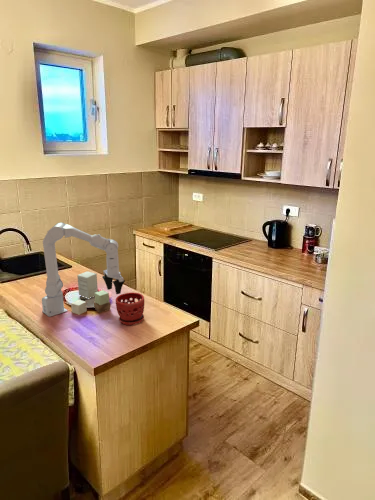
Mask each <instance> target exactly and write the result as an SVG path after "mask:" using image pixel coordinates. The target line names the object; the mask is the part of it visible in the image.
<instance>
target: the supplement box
mask: <svg viewBox="0 0 375 500" xmlns="http://www.w3.org/2000/svg"><path fill="white" fill-rule="evenodd" d="M97 275H98V274H97V273H96V272H95V273H94V272H93V271H84V272H82V273H79V274H77V275H76V276H77V285H78V289H77V290H78V296H79V295H81V296H84V297H87V298H90V297H93V296H95V294H94V293H96V292H99V289H98V276H97ZM93 298H94V297H93Z"/></svg>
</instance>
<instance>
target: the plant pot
mask: <svg viewBox="0 0 375 500" xmlns="http://www.w3.org/2000/svg"><path fill="white" fill-rule="evenodd" d="M136 299H137V301H136ZM115 306H116V311H117V314H118V316H119V317H118V319H119V322H120V323H121V324H122V325H126V326H135V325H137V324H138V325H139V324H141V323H142V321H144V319H145V315H144V312H145V296H144V295H143V294H142V293H139V292H126V293H122V294H121V293H120V294H118V296H117V297H116V298H115Z"/></svg>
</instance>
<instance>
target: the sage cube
mask: <svg viewBox="0 0 375 500" xmlns="http://www.w3.org/2000/svg"><path fill="white" fill-rule="evenodd" d="M94 294H95V297H94V301H95V302H96V303H97V304H99V305H103V304H106V303H109V302H110V293H109V292H108V291H106V290H104V289H103V290H98V292H96V293H94Z"/></svg>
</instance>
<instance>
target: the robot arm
mask: <svg viewBox="0 0 375 500" xmlns="http://www.w3.org/2000/svg"><path fill="white" fill-rule="evenodd" d="M63 237H64V238H65V239H66V238H70V237H74V238H77V239H79V240H82V241H85V242H88V243H89V244H90V246H91V247H94V248H97V249H99V250H102V251H104V252H105V253H106V254H105V255H106V259H105V260H106V269H105V270H102V271H103V275H102V279H103V280H104V281H103V282H104V283H105V285H106V289H107V290H108V291H109V290H113V289H112V288H113V287H114V290H115V294H116V295H121V292H122V288H123V285H124V284H125V279H124V277H123V276H122V275H121V274H122V273H121V272H120V265H119V263H120V262H119V261H120V260H119V251H118V250H119V243H118V241H117V240H115V239H114V238H113V239H111V238H106V237H104V236H102V235H101V234H100V233H98V234H96V233H95V234H90V233H88V232H85V231H83V230H81V229H79V228H76V227H74V226H72V225H70V224H67V223H65V222H57V223H56V224H54V226H52V227H51V228H50V229H48V230H47V231H46V234H45V236H44V238H43V240H42V247H43V255H44V256H43V257H44V261H45V268H46V281H45V286H46V287H45V289H44V293H45V296H43V297H42V298H41V306H42V313H43V314H45V315H46V316H47V317H53V316H56V315H57V316H58V315H59V314H62V313H65V312H68V309H66V308H65V303H64V295H63V293H64V292H63V291H62V288H63V286H64V282H63V280H62V279H61V276H60V274H59V269H58V268H59V266H58V259H57V250H56V243H57V241H60V240H62V239H63ZM114 279H115V280H114ZM113 285H114V286H113Z"/></svg>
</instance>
